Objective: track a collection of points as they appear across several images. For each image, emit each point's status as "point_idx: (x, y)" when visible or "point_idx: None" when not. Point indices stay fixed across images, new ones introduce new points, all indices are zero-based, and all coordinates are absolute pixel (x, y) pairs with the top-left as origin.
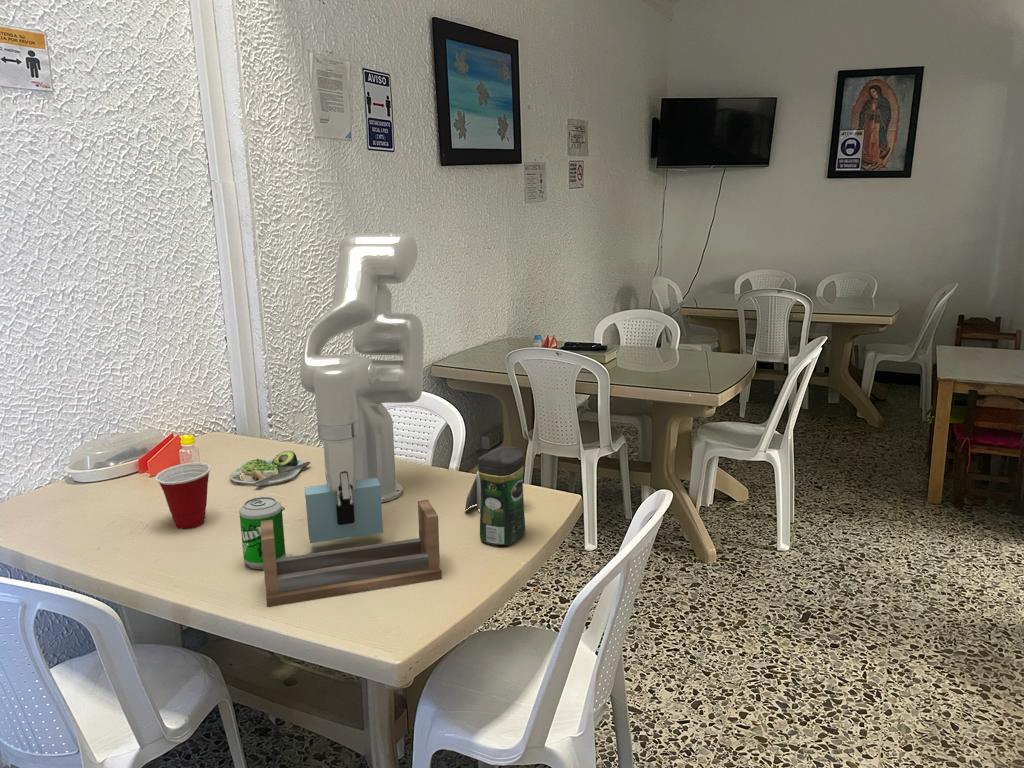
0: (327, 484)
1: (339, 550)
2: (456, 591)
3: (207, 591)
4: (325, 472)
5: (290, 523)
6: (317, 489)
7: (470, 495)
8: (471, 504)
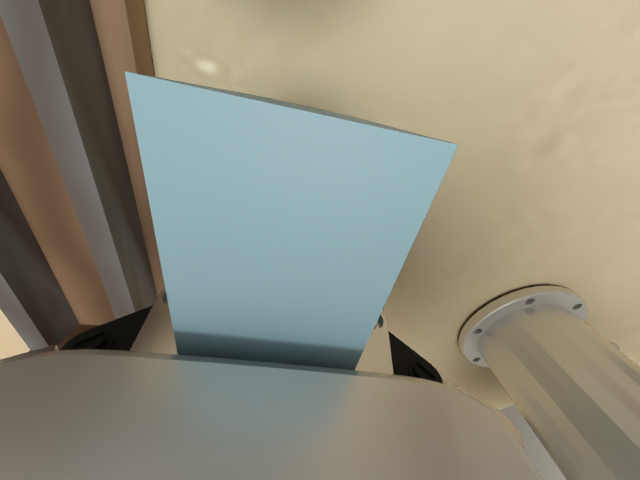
0: (226, 385)
1: (82, 173)
2: (6, 326)
3: None
4: (477, 470)
5: (558, 105)
6: (285, 264)
7: None
8: None
